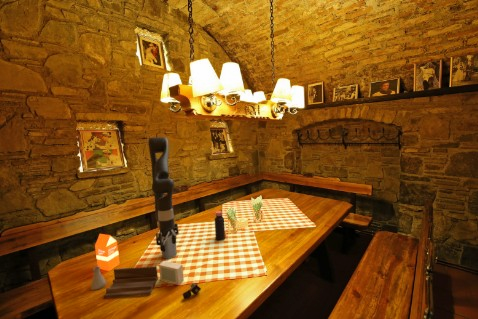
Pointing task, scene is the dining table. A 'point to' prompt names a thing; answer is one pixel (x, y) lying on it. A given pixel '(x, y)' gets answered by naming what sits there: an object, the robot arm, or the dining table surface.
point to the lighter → (193, 289)
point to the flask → (97, 279)
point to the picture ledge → (132, 282)
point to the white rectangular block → (171, 272)
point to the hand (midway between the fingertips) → (168, 247)
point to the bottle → (219, 226)
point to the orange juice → (107, 252)
